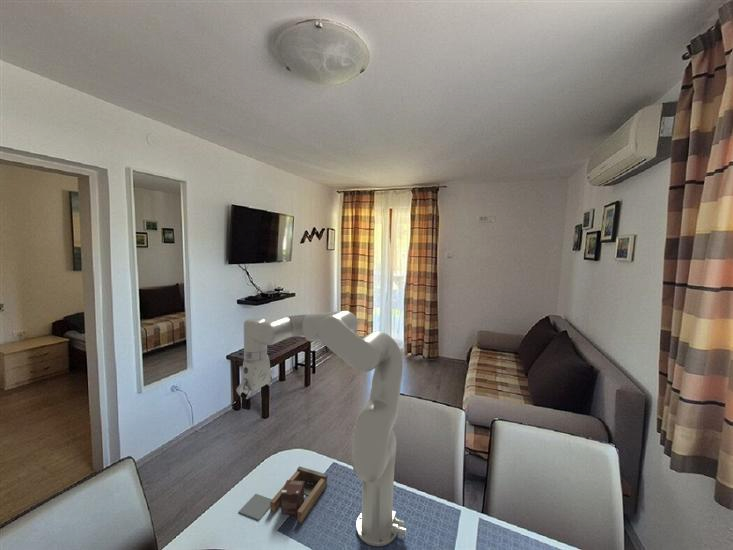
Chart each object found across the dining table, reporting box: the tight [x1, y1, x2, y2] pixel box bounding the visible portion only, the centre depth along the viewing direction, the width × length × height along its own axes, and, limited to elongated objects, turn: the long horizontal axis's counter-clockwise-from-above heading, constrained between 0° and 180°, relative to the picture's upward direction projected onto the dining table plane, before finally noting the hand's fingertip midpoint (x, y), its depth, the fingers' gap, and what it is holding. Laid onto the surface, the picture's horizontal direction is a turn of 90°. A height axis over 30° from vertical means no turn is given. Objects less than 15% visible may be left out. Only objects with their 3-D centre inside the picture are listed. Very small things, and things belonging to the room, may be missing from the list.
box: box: [280, 479, 305, 516], centre depth 102 cm, size 6×6×7 cm
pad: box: [238, 493, 273, 521], centre depth 102 cm, size 8×8×1 cm
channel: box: [269, 465, 328, 524], centre depth 106 cm, size 12×17×4 cm
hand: (256, 402), depth 108 cm, fingers open, 9 cm apart
